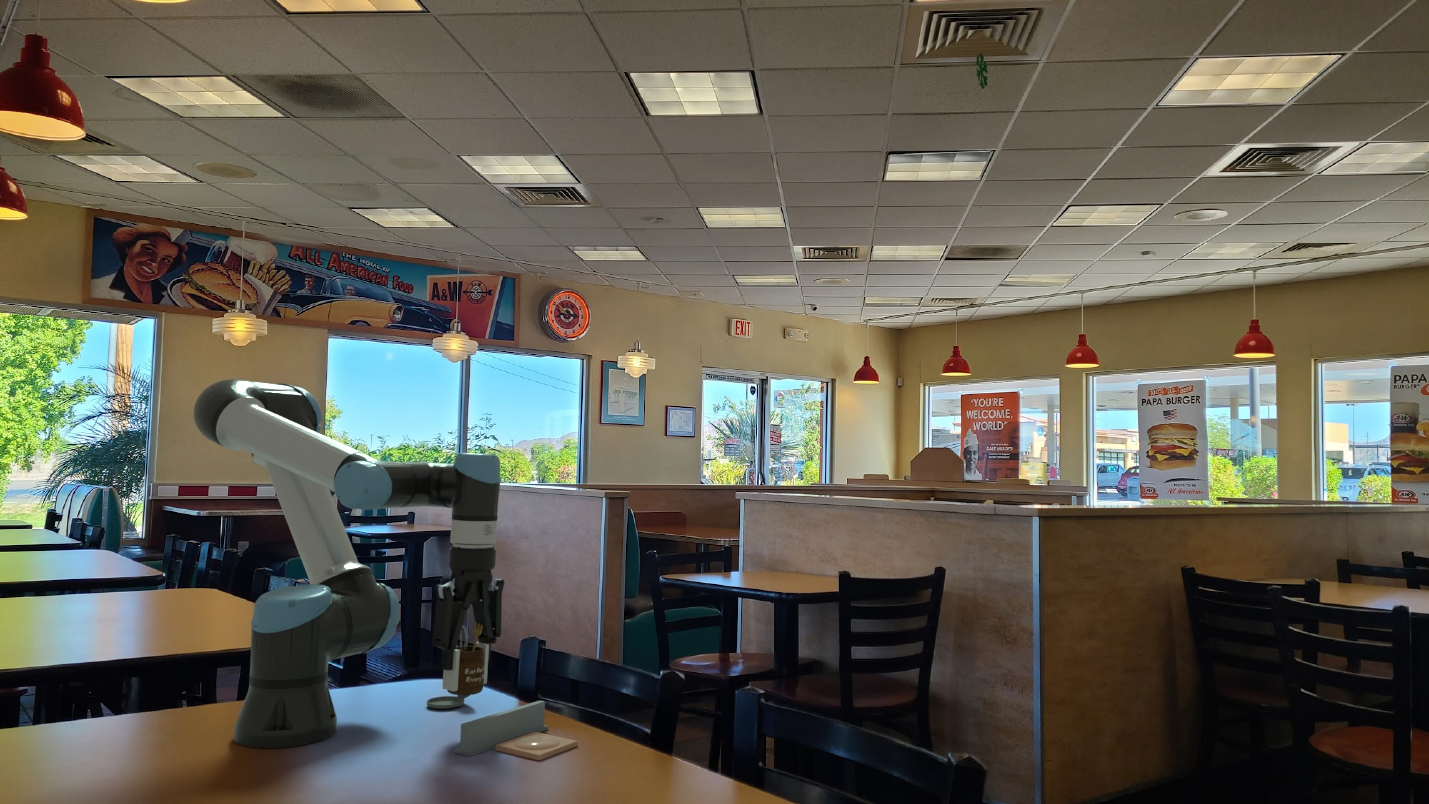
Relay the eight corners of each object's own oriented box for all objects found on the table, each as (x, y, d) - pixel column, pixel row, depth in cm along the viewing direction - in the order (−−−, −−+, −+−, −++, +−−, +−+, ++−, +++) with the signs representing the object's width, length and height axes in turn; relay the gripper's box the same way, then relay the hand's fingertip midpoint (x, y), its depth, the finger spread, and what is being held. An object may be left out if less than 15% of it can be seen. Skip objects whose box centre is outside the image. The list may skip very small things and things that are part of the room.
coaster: (495, 750, 147) (495, 744, 147) (534, 736, 155) (534, 731, 155) (539, 760, 143) (539, 754, 143) (577, 746, 150) (577, 740, 150)
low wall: (455, 752, 146) (456, 723, 146) (534, 726, 161) (535, 699, 161) (469, 756, 144) (470, 726, 144) (548, 729, 159) (548, 702, 160)
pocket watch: (420, 709, 170) (422, 653, 171) (440, 698, 179) (443, 644, 179) (462, 712, 169) (464, 655, 170) (481, 701, 177) (483, 647, 178)
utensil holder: (438, 692, 155) (443, 618, 155) (462, 684, 160) (466, 613, 161) (468, 697, 152) (472, 622, 153) (491, 689, 158) (495, 617, 159)
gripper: (446, 550, 148) (437, 701, 146) (528, 544, 164) (521, 679, 162) (413, 546, 151) (404, 692, 150) (496, 540, 168) (489, 672, 166)
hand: (464, 685), depth 156 cm, fingers closed on utensil holder, 6 cm apart
